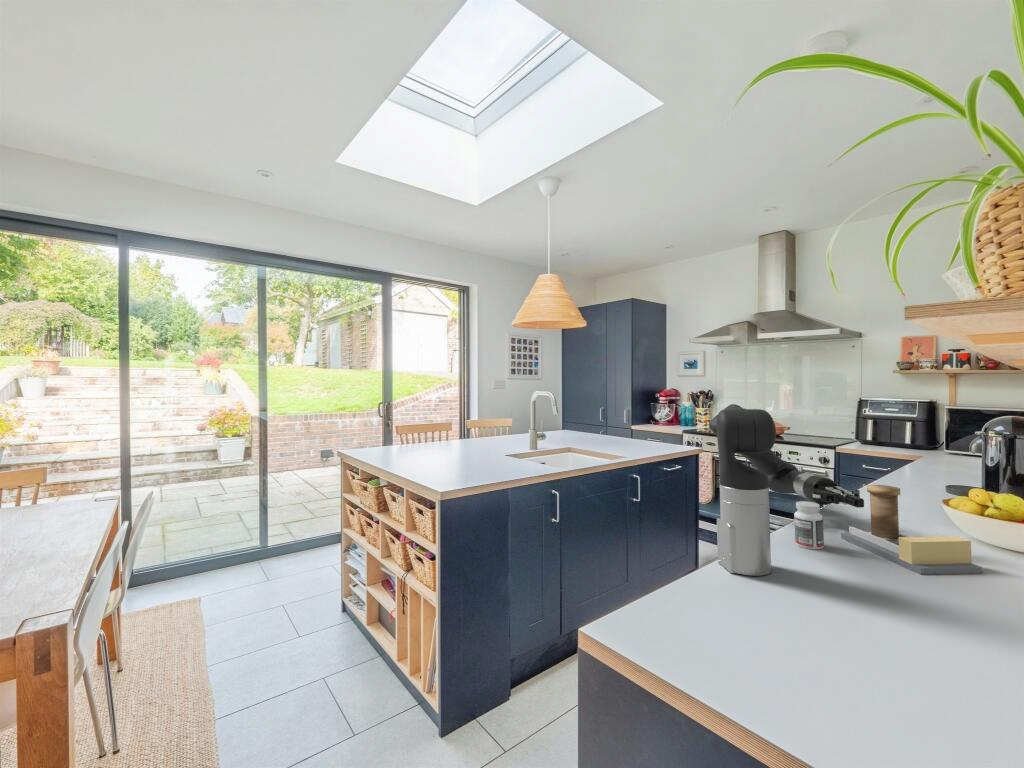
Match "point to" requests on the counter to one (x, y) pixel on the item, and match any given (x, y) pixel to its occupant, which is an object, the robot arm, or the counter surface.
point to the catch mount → (920, 552)
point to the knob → (884, 512)
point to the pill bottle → (808, 525)
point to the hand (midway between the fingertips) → (861, 503)
